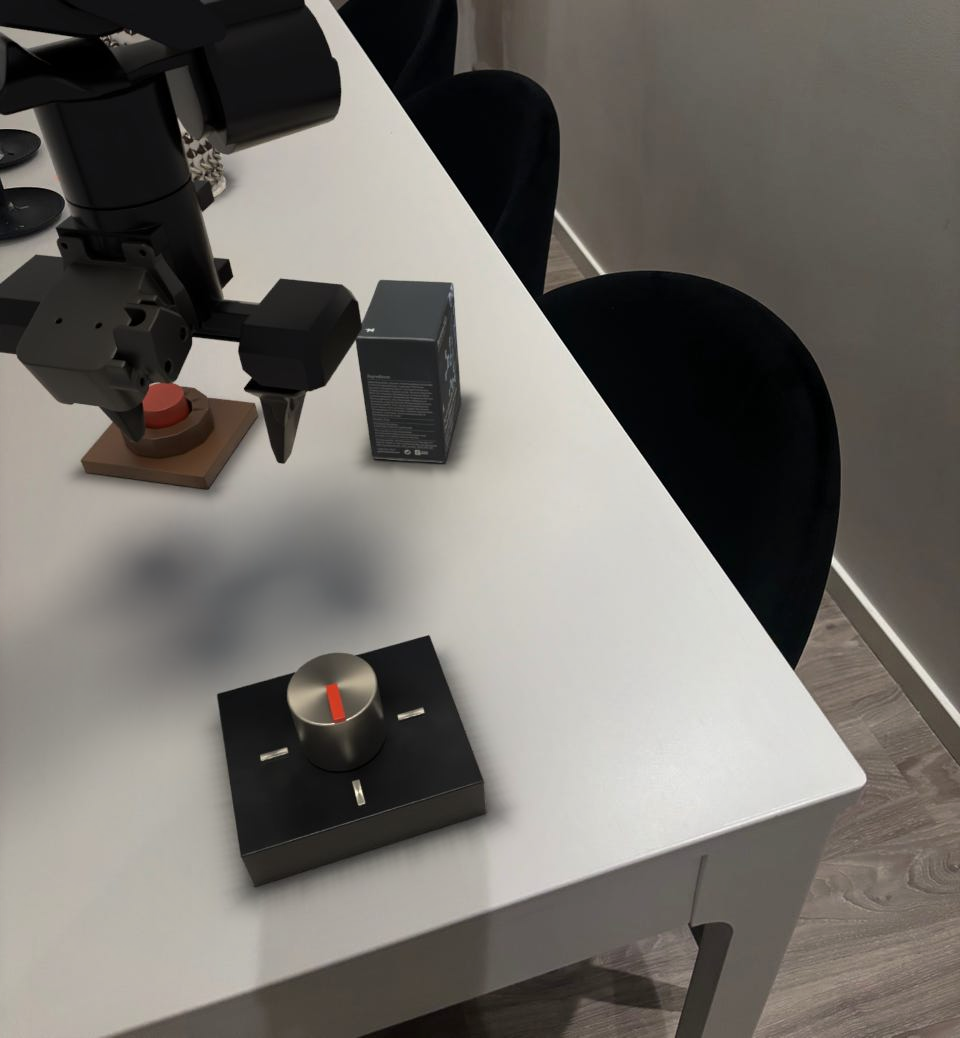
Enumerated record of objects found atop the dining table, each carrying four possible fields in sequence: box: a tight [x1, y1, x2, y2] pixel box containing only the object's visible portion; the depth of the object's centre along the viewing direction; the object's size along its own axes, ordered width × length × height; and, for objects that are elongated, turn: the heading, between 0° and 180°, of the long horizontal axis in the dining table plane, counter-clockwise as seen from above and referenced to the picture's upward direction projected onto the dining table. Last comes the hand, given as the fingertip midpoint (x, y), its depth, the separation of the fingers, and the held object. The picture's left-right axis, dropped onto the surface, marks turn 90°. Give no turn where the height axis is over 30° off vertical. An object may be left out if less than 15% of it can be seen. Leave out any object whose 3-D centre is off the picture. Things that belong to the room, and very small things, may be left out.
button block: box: [80, 385, 259, 490], centre depth 72 cm, size 10×9×3 cm
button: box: [142, 382, 189, 429], centre depth 71 cm, size 4×4×2 cm
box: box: [355, 279, 462, 464], centre depth 70 cm, size 8×6×11 cm
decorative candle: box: [100, 28, 227, 198], centre depth 99 cm, size 9×9×25 cm
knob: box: [287, 652, 386, 771], centre depth 48 cm, size 4×4×4 cm
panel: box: [216, 634, 487, 887], centre depth 51 cm, size 12×10×3 cm
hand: (210, 448), depth 55 cm, fingers open, 9 cm apart
